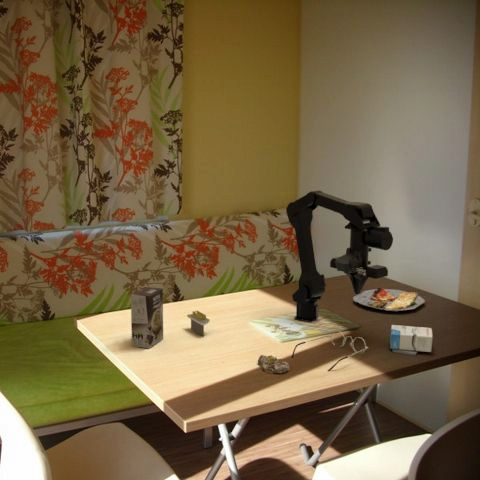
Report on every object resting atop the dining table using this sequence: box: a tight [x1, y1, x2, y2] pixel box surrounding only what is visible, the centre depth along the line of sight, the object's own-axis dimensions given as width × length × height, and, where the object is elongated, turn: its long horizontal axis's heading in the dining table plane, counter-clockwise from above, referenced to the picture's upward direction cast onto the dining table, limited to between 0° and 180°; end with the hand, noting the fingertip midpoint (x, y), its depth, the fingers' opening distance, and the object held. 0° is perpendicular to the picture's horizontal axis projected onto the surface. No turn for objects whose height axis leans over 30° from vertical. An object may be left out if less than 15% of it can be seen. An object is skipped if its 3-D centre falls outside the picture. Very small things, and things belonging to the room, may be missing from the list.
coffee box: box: [130, 286, 164, 349], centre depth 208 cm, size 9×6×16 cm
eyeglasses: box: [291, 330, 369, 372], centre depth 200 cm, size 16×19×5 cm
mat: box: [392, 349, 419, 356], centre depth 207 cm, size 7×10×1 cm, turn 155°
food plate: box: [352, 286, 426, 313], centre depth 250 cm, size 25×23×4 cm
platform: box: [186, 310, 211, 337], centre depth 218 cm, size 12×18×7 cm, turn 32°
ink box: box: [389, 324, 434, 353], centre depth 206 cm, size 8×5×12 cm
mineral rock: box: [257, 354, 290, 374], centre depth 192 cm, size 11×4×8 cm
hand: (357, 294), depth 216 cm, fingers closed
